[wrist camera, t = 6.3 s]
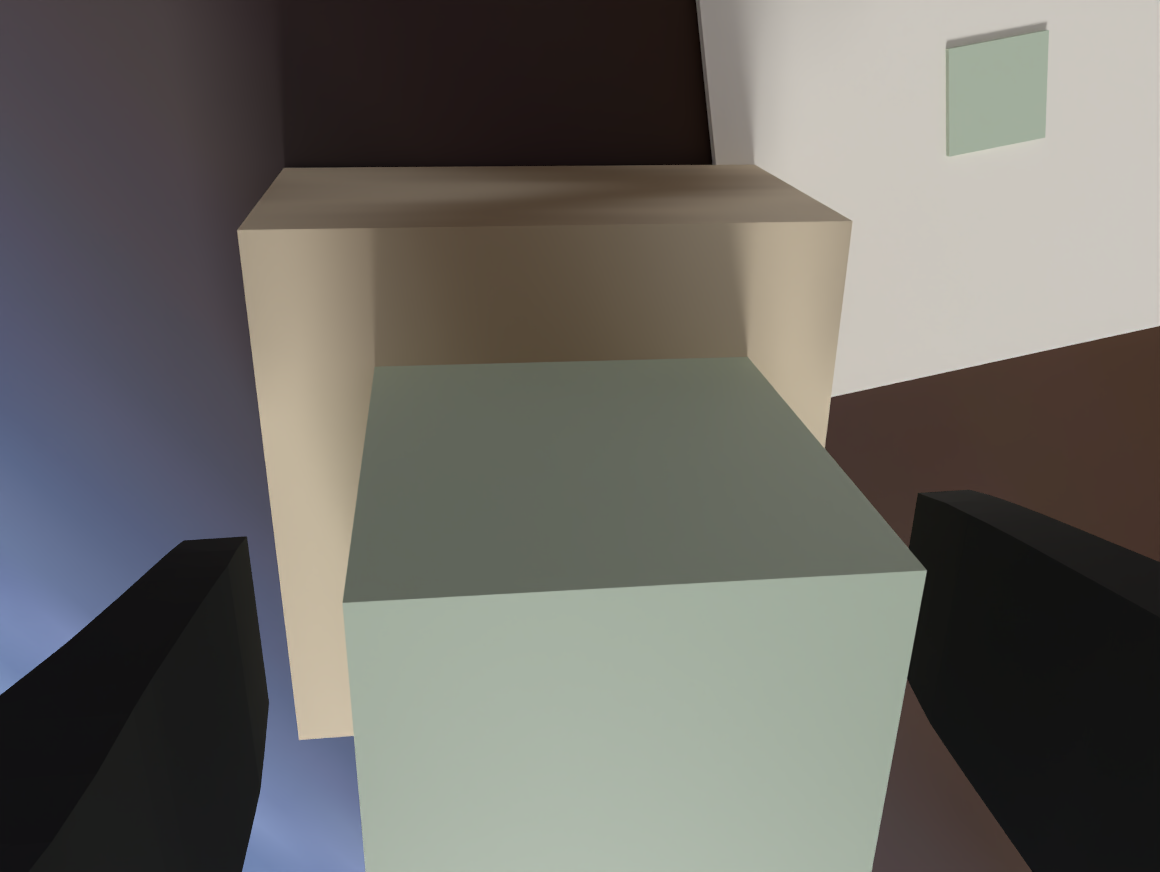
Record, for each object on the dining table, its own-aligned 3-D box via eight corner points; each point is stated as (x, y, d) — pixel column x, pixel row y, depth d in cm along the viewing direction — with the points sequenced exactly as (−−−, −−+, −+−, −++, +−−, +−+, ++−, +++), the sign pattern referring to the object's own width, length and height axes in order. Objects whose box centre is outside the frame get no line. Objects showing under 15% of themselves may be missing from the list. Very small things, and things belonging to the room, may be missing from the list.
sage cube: (747, 356, 13) (925, 570, 8) (719, 659, 14) (853, 971, 10) (374, 366, 12) (342, 603, 7) (394, 679, 14) (379, 1023, 9)
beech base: (754, 164, 16) (852, 220, 12) (721, 559, 19) (793, 701, 15) (283, 168, 15) (237, 230, 11) (325, 583, 18) (298, 739, 14)
